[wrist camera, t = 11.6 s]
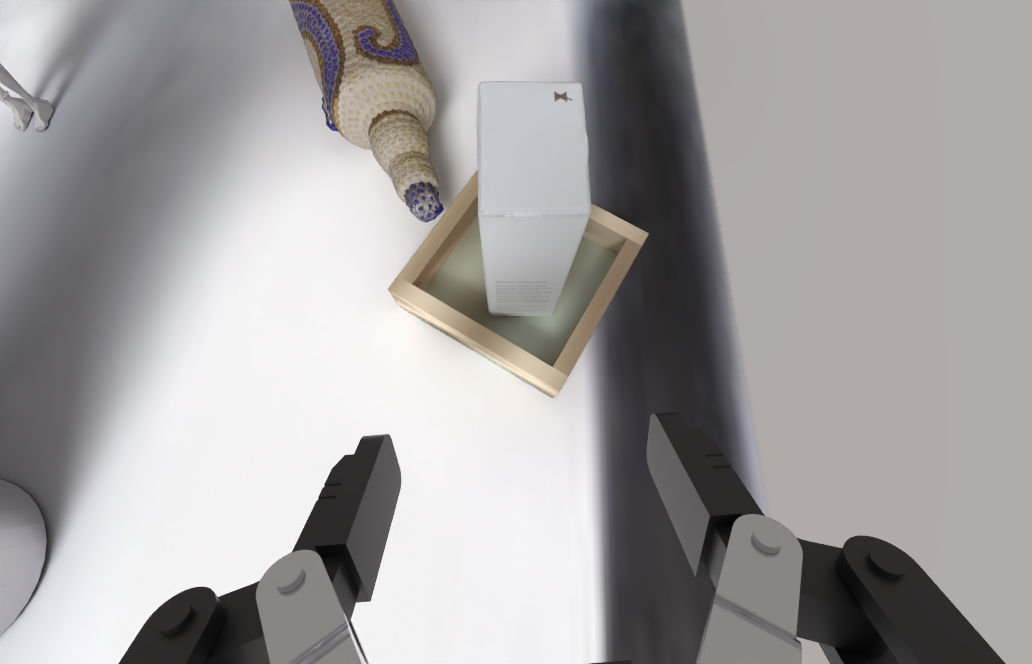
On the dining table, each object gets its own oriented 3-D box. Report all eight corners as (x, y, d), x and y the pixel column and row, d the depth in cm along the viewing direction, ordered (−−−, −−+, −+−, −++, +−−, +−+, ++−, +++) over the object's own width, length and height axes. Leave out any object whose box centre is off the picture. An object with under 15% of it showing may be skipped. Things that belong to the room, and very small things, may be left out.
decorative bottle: (289, 1, 33) (240, -105, 27) (377, -19, 35) (350, -125, 28) (379, 262, 27) (342, 204, 21) (483, 227, 28) (479, 162, 22)
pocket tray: (400, 306, 26) (387, 289, 23) (492, 180, 29) (491, 150, 26) (553, 398, 25) (559, 391, 22) (633, 255, 28) (648, 233, 25)
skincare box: (487, 234, 27) (476, 75, 15) (550, 234, 27) (586, 77, 16) (486, 320, 25) (475, 213, 14) (554, 319, 25) (597, 213, 14)
